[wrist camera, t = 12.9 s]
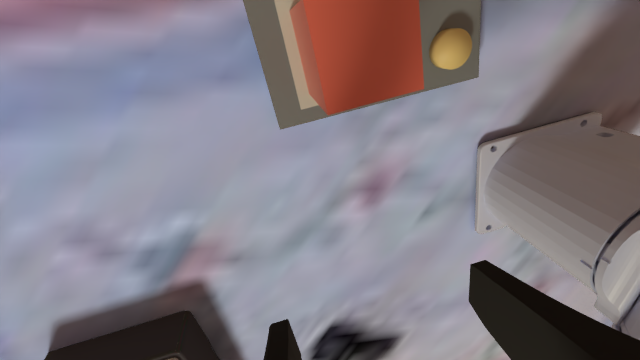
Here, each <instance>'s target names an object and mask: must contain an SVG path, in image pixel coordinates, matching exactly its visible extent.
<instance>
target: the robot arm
mask: <svg viewBox="0 0 640 360" xmlns="http://www.w3.org/2000/svg"><path fill="white" fill-rule="evenodd" d="M601 120H602V114H601V113H598V112H591V113H588V114H584V115H581V116H577V117H573V118H570V119H566V120H563V121H559V122H556V123H552V124H548V125H545V126H541V127H538V128H534V129H531V130H527V131H523V132H520V133H516V134H513V135H509V136H506V137H502V138H498V139H495V140H491V141H488V142H484V143H482V144H481V145H480V146H479V147H478V151H477V178H476V206H475V231H476V232H477V233H478V234H484V233H487V232H490V231H494V230H497V229H500V228H504V227H507V226H508V227H509V228H510V229H512V230H513V231H514V232H516V233H517V234H518V235H520V236H521V237H522V238H524V239H525V240H526V241H527V242H529V243H530V244H531V245H533V246H534V247H535V248H537V249H538V250H539V251H541V252H542V253H543V254H545V255H546V256H547V257H548V258H550V259H551V260H552V261H554V262H555V263H556V264H558V265H559V266H560V267H562V268H563V269H564V270H566V271H567V272H568V273H569V274H571V275H572V276H573V277H575V278H576V279H577V280H579V281H580V282H581V283H583V284H584V285H585V286H587V287H588V288H589V289H590V290H592V291H593V292H594V293H596V294H597V300H596V303H595V305H594V308H596V309H597V310H598V311H599V312H601V313H602V314H603V315H604V316H606V317H607V318H608V319H609V320H611V321H612V322H613V324H612V328H611V327H609V326H606V325H604V324H602V323H600V322H598V321H596V320H594V319H592V318H590V317H588V316H586V315H584V314H582V313H580V312H578V311H576V310H574V309H572V308H570V307H568V306H566V305H564V304H562V303H560V302H558V301H557V300H555V299H553V298H551V297H549V296H547V295H545V294H544V293H542V292H540V291H538V290H536V289H535V288H533V287H531V286H529V285H528V284H526V283H524V282H522V281H521V280H519V279H517V278H515V277H514V276H512V275H510V274H509V273H507V272H505V271H503V270H502V269H500V268H498V267H497V266H495V265H493V264H491V263H490V262H488V261H486V260H484V261H480V262H477V263H474V264H471V267H470V287H469V302H470V304H471V305H472V307H473V309H474V310H475V312H476V314H477V315H478V317H479V318H480V320H481V321H482V323H483V324H484V326H485V327H486V329H487V330H488V331H489V332H490V334H491V335H492V336H493V337H494V339H495V340H496V341H497V343H498V344H499V345H500V346H501V348H502V349H503V350H504V351H505V353H506V354H507V355H508V356H509V357H510V359H511V360H640V136H637V135H634V134H630V133H626V132H622V131H618V130H614V129H610V128H606V127H603V126H600V125H601ZM492 146H493V148H492V149H491V147H492ZM490 149H491V150H490ZM264 360H302V359H301V353H300V350H299V348H298V345H297V342H296V339H295V337H294V334H293V331H292V329H291V326H290V323H289V321H288V319H286V320H283V321H280V322H276V323H273V324H271V326H270V327H269V334H268V340H267V346H266V351H265V356H264Z"/></svg>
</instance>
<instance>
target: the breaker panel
mask: <svg viewBox="0 0 640 360" xmlns="http://www.w3.org/2000/svg"><path fill="white" fill-rule="evenodd" d="M299 1H300V0H243V2H244V5H245V9H246V12H247V16H248V19H249V23H250V26H251V30H252V33H253V37H254V40H255V44H256V47H257V51H258V54H259V57H260V61H261V64H262V68H263V71H264V75H265V78H266V82H267V85H268V89H269V92H270V96H271V99H272V103H273V106H274V110H275V113H276V117H277V120H278V124H279V127H280V129H284V128H288V127H292V126H296V125H299V124H303V123H307V122H311V121H314V120H318V119H322V118H326V117H330V116H333V115H337V114H341V113H345V112H349V111H352V110H356V109H360V108H364V107H367V106H371V105H375V104H379V103H383V102H386V101H390V100H394V99H398V98H402V97H405V96H409V95H413V94H417V93H420V92H424V91H428V90H432V89H436V88H439V87H443V86H447V85H451V84H455V83H458V82H462V81H466V80H470V79H473V78H477V77H478V76H479V45H480V15H481V0H419V11H420V27H421V44H422V61H423V78H424V89H422V90H419V91H415V92H411V93H408V94H404V95H400V96H397V97H393V98H389V99H386V100H382V101H379V102H375V103H371V104H368V105H364V106H360V107H357V108H353V109H349V110H346V111H342V112H338V113H335V114H331V115H327V114H326V113H325V112H324V110H323V109H322V108H321V107H320V106H319V105H318V104H317V102H316V101H315V100H314V99H313V98H312V97H311V96H310V94H309V91H308V87H307V83H306V79H305V74H304V70H303V66H302V62H301V58H300V53H299V49H298V45H297V41H296V37H295V32H294V28H293V24H292V20H291V15H290V10H291V9H292V8H293V7H294V6H295V5H296V4H297V3H298V2H299Z"/></svg>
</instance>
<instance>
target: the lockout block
mask: <svg viewBox="0 0 640 360" xmlns="http://www.w3.org/2000/svg"><path fill="white" fill-rule="evenodd" d="M290 15H291V20H292V24H293V28H294V32H295V37H296V41H297V45H298V49H299V53H300V58H301V62H302V66H303V70H304V74H305V79H306V83H307V87H308V91H309V94H310V96H311V97H312V98H313V99H314V100H315V101H316V102H317V104H318V105H319V106H320V107H321V108H322V109H323V110H324V112H325V113H326V114H327V115H331V114H335V113H338V112H342V111H346V110H349V109H353V108H357V107H360V106H364V105H368V104H371V103H375V102H379V101H382V100H386V99H389V98H393V97H397V96H400V95H404V94H408V93H411V92H415V91H419V90H422V89H424V78H423V61H422V44H421V27H420V11H419V0H300V1H299V2H298V3H297V4H296V5H295V6H294V7H293V8H292V9H291V10H290Z"/></svg>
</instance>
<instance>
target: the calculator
mask: <svg viewBox="0 0 640 360" xmlns="http://www.w3.org/2000/svg"><path fill="white" fill-rule="evenodd" d="M44 360H219V358H218V357H217V356H216V354H215V353H214V351H213V350H212V348H211V345H210V342H209V340H208V339H207V337H206V335H205V334H204V332H203V331H202V329H201V328H200V326H199V324H198V323H197V321H196V320H195V318H194V316H193V315H192V314H191V312H189V311H182V312H179V313H175V314H172V315H169V316H166V317H162V318H159V319H156V320H153V321H149V322H146V323H143V324H139V325H136V326H133V327H130V328H126V329H123V330H120V331H117V332H113V333H110V334H107V335H104V336H100V337H97V338H94V339H90V340H87V341H84V342H81V343H77V344H74V345H71V346H68V347H64V348H61V349H58V350H55V351H52V352H49V353H48V355H47V356H46V358H45V359H44Z"/></svg>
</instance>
